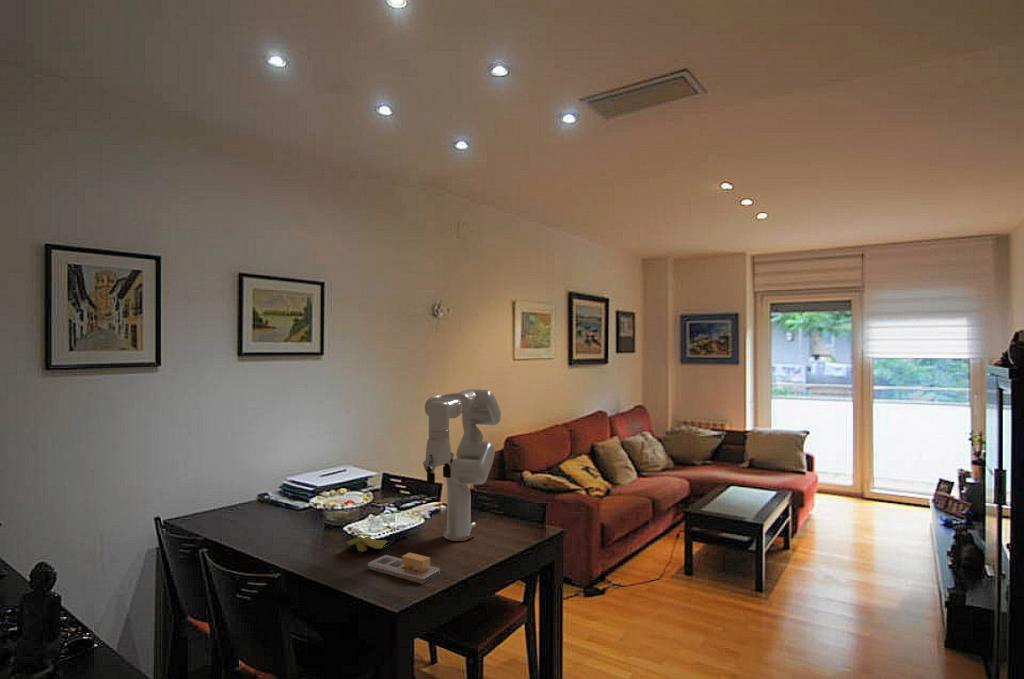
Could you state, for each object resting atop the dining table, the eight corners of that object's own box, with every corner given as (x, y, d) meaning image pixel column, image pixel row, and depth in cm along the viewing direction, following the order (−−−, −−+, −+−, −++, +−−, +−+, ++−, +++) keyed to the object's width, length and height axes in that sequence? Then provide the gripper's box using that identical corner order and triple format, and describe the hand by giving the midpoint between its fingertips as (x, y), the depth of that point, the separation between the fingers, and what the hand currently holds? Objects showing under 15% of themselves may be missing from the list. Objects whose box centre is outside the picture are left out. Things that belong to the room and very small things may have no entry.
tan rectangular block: (409, 571, 208) (409, 552, 208) (430, 576, 204) (430, 557, 204) (401, 575, 205) (402, 556, 205) (422, 580, 200) (422, 561, 200)
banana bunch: (371, 532, 243) (391, 523, 240) (377, 550, 241) (397, 542, 238) (341, 544, 224) (362, 535, 221) (347, 563, 222) (368, 554, 220)
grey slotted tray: (385, 561, 217) (385, 554, 217) (439, 575, 205) (439, 568, 205) (368, 569, 209) (368, 562, 209) (422, 584, 197) (422, 577, 197)
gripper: (444, 430, 233) (444, 474, 233) (416, 437, 218) (416, 484, 218) (460, 431, 229) (460, 476, 230) (432, 439, 214) (432, 487, 215)
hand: (439, 480), depth 224 cm, fingers open, 9 cm apart
